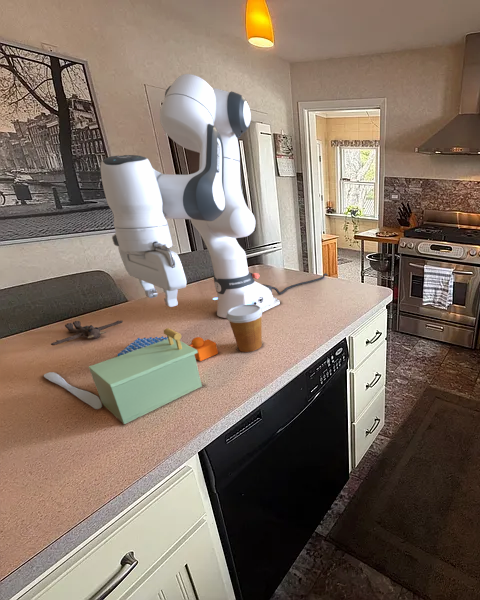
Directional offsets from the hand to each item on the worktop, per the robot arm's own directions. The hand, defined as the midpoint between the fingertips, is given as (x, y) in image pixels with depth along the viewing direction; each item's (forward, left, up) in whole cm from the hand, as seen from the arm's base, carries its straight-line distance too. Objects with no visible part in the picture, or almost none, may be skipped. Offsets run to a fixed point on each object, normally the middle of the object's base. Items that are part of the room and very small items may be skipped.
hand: (161, 301), depth 73 cm
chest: (+6, 0, -21) cm, 22 cm away
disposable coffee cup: (-20, -2, -21) cm, 29 cm away
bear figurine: (+4, -51, -21) cm, 55 cm away
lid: (+6, 0, -12) cm, 14 cm away
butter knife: (+16, -17, -21) cm, 32 cm away
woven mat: (-2, -24, -21) cm, 32 cm away
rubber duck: (-10, -8, -21) cm, 25 cm away
